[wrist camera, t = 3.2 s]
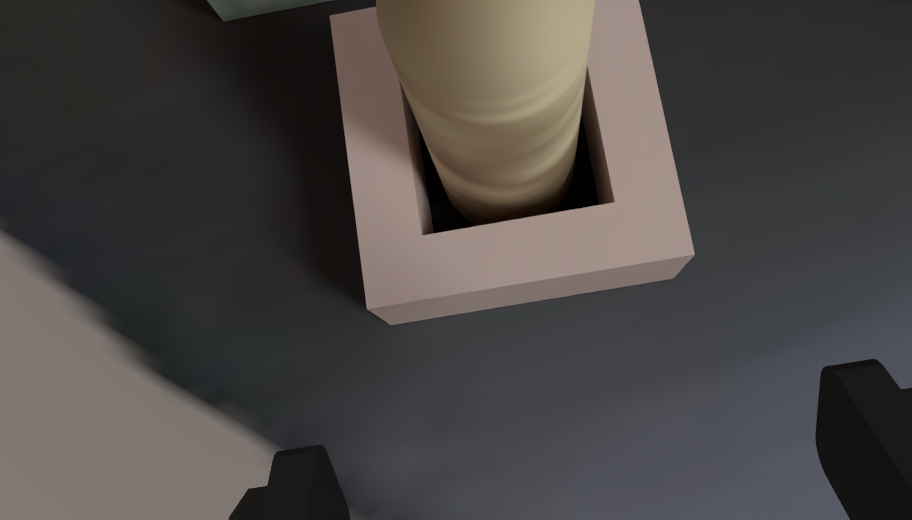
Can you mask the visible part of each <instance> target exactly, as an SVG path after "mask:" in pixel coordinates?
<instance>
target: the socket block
mask: <svg viewBox="0 0 912 520" xmlns="http://www.w3.org/2000/svg"><path fill="white" fill-rule="evenodd" d="M330 23H331V31H332V38H333V46H334V54H335V62H336V70H337V78H338V86H339V93H340V101H341V109H342V117H343V125H344V133H345V141H346V148H347V156H348V164H349V172H350V180H351V188H352V195H353V203H354V211H355V219H356V227H357V235H358V243H359V250H360V258H361V266H362V274H363V282H364V290H365V298H366V305H367V310H369V311H370V312H372V313H373V314H375V315H376V316H378V317H379V318H381V319H382V320H384V321H385V322H387V323H388V324H390V325H394V324H401V323H407V322H413V321H419V320H425V319H431V318H437V317H443V316H449V315H455V314H461V313H467V312H473V311H479V310H485V309H491V308H498V307H504V306H510V305H516V304H522V303H528V302H534V301H540V300H546V299H552V298H558V297H564V296H570V295H576V294H582V293H588V292H595V291H601V290H607V289H613V288H619V287H625V286H631V285H637V284H643V283H649V282H655V281H661V280H667V279H673V278H674V277H675V276H676V275H677V274H678V273H679V271H680V270H681V269H682V268H683V267H684V266H685V265H686V264H687V263H688V261H689V260H690V259H691V258H692V257H693V256H694V255H695V254H694V249H693V244H692V240H691V235H690V231H689V226H688V222H687V217H686V213H685V208H684V204H683V199H682V195H681V190H680V186H679V181H678V177H677V172H676V167H675V163H674V158H673V154H672V149H671V145H670V140H669V136H668V131H667V127H666V122H665V118H664V113H663V109H662V104H661V99H660V95H659V90H658V86H657V81H656V77H655V72H654V68H653V63H652V59H651V54H650V50H649V45H648V41H647V36H646V31H645V27H644V22H643V18H642V13H641V9H640V4H639V0H595V6H594V14H593V22H592V30H591V38H590V46H589V54H588V62H587V70H586V78H585V86H584V93H583V101H582V109H581V115H582V120H583V125H584V130H585V135H586V140H587V145H588V151H589V156H590V161H591V166H592V171H593V176H594V181H595V186H596V191H597V196H598V201H599V205H596V206H590V207H585V208H579V209H573V210H567V211H561V212H556V213H550V214H544V215H538V216H532V217H527V218H521V219H515V220H509V221H503V222H498V223H492V224H486V225H480V226H474V227H469V228H463V229H457V230H451V231H445V232H440V233H434V231H433V224H432V217H431V211H430V204H429V197H428V190H427V184H426V177H425V170H424V164H423V157H422V150H421V143H420V137H419V130H418V123H417V121H416V118H415V116H414V114H413V111H412V109H411V106H410V104H409V101H408V99H407V96H406V94H405V92H404V89H403V87H402V84H401V82H400V79H399V77H398V75H397V72H396V70H395V67H394V65H393V62H392V60H391V58H390V55H389V53H388V50H387V48H386V45H385V43H384V40H383V38H382V35H381V32H380V29H379V25H378V20H377V12H376V7H372V8H366V9H361V10H356V11H351V12H346V13H341V14H335V15H330Z"/></svg>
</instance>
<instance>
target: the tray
mask: <svg viewBox="0 0 912 520" xmlns="http://www.w3.org/2000/svg"><path fill="white" fill-rule="evenodd" d="M207 1H208V2H209V4H210V5H211V6H212V7H213V9H214V10H215V11H216V12H217V14H218V15H219V16H220V18H221V19H222V20H223V21H229V20H235V19H240V18H245V17H250V16H255V15H260V14H265V13H271V12H276V11H281V10H286V9H291V8H296V7H301V6H306V5H312V4H317V3H322V2H327V1H332V0H207Z"/></svg>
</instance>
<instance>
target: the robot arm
mask: <svg viewBox="0 0 912 520" xmlns="http://www.w3.org/2000/svg"><path fill="white" fill-rule="evenodd" d="M816 446H817V452H818V456H819V459H820V462H821V465H822V468H823V470H824V473H825V475H826V477H827V478H828V480H829V482H830V484H831V486H832V488H833V489H834V491H835V493H836V495H837V497H838V498H839V500H840V502H841V504H842V506H843V508H844V509H845V511H846V513H847V515H848V517H849V518H850V520H912V388H908V389H900V388H899V386H898V385H897V384H896V382H895V381H894V380H893V378H892V377H891V375H890V374H889V373H888V371H887V370H886V369H885V367H884V366H883V365H882V364H881V363H880V362H879V361H877V360H876V359H870V360H864V361H857V362H851V363H845V364H838V365H832V366H826V367H824V368H823V369H822V372H821V377H820V388H819V400H818V412H817V423H816ZM229 520H350V514H349V510H348V506H347V503H346V500H345V498H344V495H343V492H342V490H341V487H340V485H339V482H338V479H337V477H336V474H335V472H334V469H333V466H332V464H331V461H330V459H329V456H328V453H327V451H326V449H325V447H324V446H323V445H315V446H309V447H303V448H296V449H290V450H284V451H278V452H276V454H275V456H274V458H273V462H272V466H271V471H270V476H269V481H268V485H267V486H265V487H258V488H251V489H248V490H247V492H246V493H245V495H244V496H243V498H242V499H241V500H240V502H239V504H238V505H237V506H236V508H235V509H234V511H233V513H232V514H231V515H230V517H229Z"/></svg>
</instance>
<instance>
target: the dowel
mask: <svg viewBox="0 0 912 520" xmlns="http://www.w3.org/2000/svg"><path fill="white" fill-rule="evenodd" d="M594 6H595V0H376V12H377V20H378V25H379V29H380V32H381V35H382V38H383V40H384V43H385V45H386V48H387V50H388V53H389V55H390V58H391V60H392V62H393V65H394V67H395V70H396V72H397V75H398V77H399V79H400V82H401V84H402V87H403V89H404V92H405V94H406V96H407V99H408V101H409V104H410V106H411V109H412V111H413V114H414V116H415V118H416V121H417V123H418V126H419V128H420V131H421V133H422V135H423V138H424V140H425V143H426V145H427V148H428V150H429V152H430V155H431V157H432V160H433V162H434V165H435V167H436V170H437V172H438V174H439V177H440V179H441V182H442V184H443V187H444V189H445V191H446V194H447V196H448V198H449V200H450V202H451V203H452V205H453V206H454V207H455V209H456V210H457V211H458V212H459V213H460V214H461V215H462V216H463V217H464V218H466V219H467V220H468V221H470V222H472V223H473V224H475V225H477V226H480V225H486V224H492V223H498V222H503V221H509V220H515V219H521V218H527V217H532V216H538V215H544V214H550V213H555V212H556V211H557V209H558V208H559V207H560V206H561V205H562V203H563V201H564V200H565V198H566V196H567V194H568V192H569V190H570V187H571V183H572V179H573V173H574V165H575V157H576V149H577V141H578V133H579V125H580V117H581V109H582V101H583V93H584V86H585V78H586V70H587V62H588V54H589V46H590V38H591V30H592V22H593V14H594Z"/></svg>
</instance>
